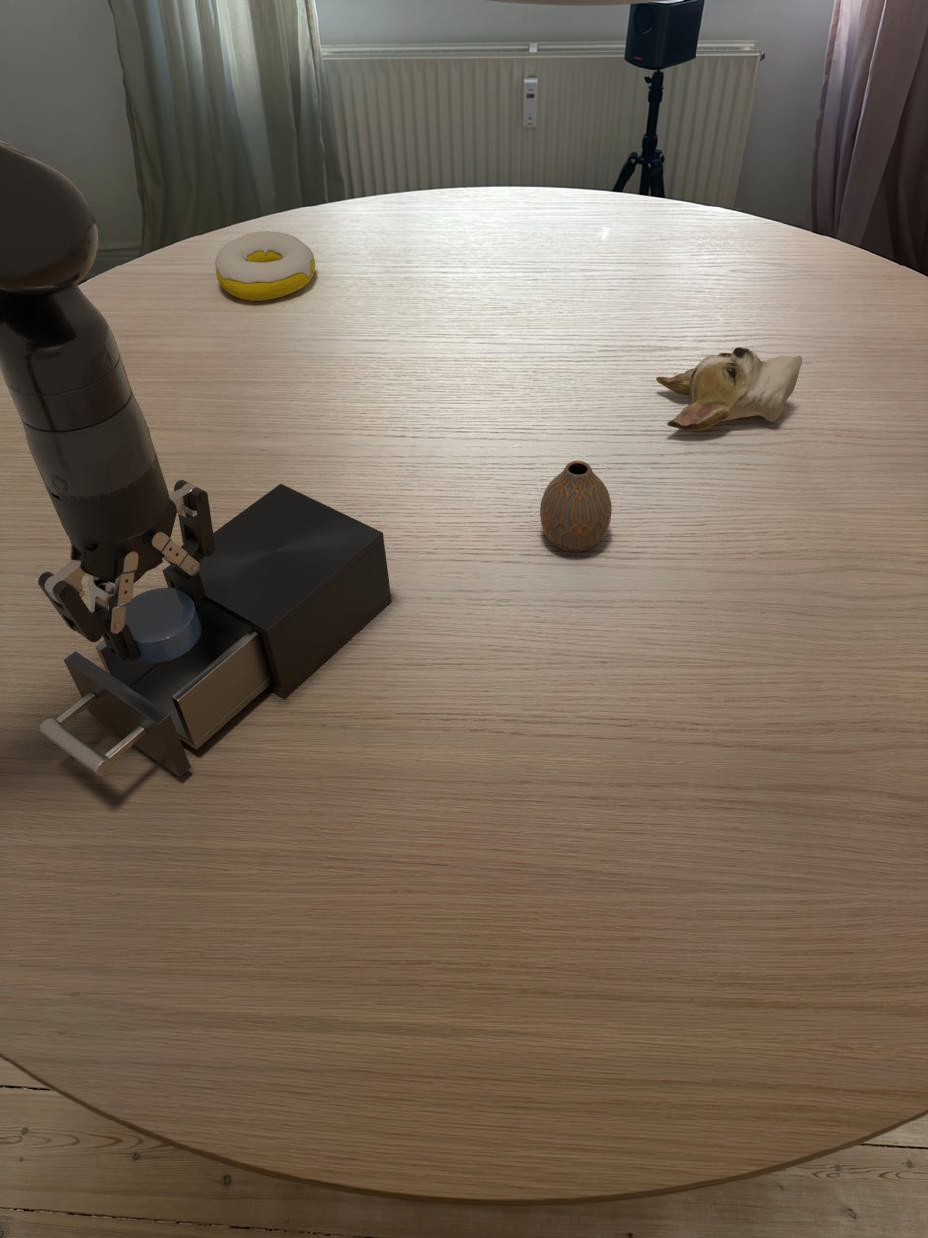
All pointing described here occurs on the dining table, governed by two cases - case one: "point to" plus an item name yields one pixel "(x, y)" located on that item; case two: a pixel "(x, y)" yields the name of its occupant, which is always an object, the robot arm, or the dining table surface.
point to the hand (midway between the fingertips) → (161, 629)
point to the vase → (575, 508)
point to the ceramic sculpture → (733, 388)
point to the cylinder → (163, 624)
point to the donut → (264, 265)
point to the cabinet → (296, 579)
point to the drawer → (166, 694)
